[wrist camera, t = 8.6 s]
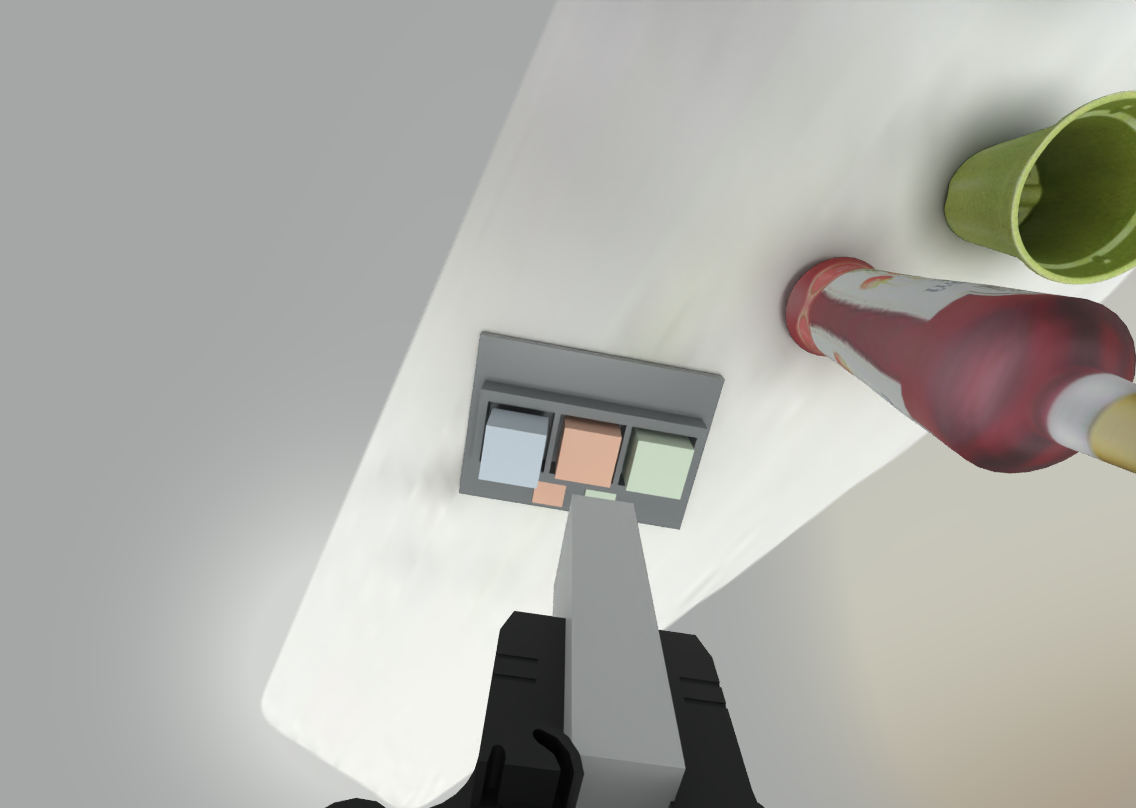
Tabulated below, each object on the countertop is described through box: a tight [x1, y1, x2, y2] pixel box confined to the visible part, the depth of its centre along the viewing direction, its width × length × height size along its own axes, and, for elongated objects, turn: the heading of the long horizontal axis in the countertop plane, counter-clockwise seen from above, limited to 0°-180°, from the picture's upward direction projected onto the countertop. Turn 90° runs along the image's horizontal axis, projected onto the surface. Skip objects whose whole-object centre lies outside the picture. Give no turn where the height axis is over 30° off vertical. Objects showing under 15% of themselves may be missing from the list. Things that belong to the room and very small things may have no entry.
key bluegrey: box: [478, 408, 549, 489], centre depth 38 cm, size 4×4×3 cm
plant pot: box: [944, 91, 1136, 284], centre depth 33 cm, size 9×9×9 cm
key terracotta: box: [555, 415, 622, 488], centre depth 40 cm, size 4×4×3 cm
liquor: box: [786, 257, 1136, 473], centre depth 26 cm, size 7×7×28 cm
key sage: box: [622, 427, 694, 500], centre depth 41 cm, size 4×4×3 cm
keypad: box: [459, 332, 725, 530], centre depth 42 cm, size 13×18×3 cm
